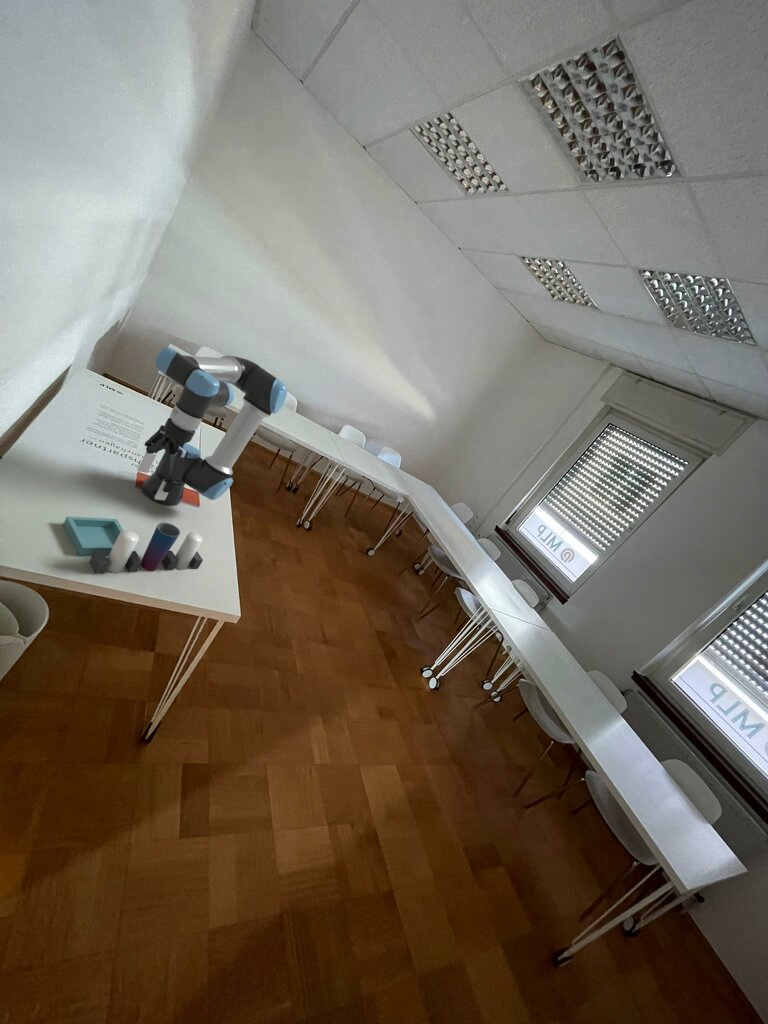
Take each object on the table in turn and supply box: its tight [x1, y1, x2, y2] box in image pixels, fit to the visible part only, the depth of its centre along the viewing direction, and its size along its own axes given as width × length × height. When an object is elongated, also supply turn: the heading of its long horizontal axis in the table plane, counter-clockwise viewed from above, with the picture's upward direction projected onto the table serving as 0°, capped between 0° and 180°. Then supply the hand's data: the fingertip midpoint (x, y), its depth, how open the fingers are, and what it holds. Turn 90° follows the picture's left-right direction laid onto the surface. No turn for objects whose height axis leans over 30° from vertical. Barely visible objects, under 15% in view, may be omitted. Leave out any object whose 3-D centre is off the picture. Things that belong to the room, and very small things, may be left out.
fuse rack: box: [88, 529, 204, 575], centre depth 130 cm, size 32×5×12 cm, turn 142°
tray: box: [62, 516, 125, 557], centre depth 127 cm, size 14×14×3 cm
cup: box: [140, 521, 181, 572], centre depth 130 cm, size 7×7×15 cm
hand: (150, 485), depth 122 cm, fingers open, 13 cm apart
